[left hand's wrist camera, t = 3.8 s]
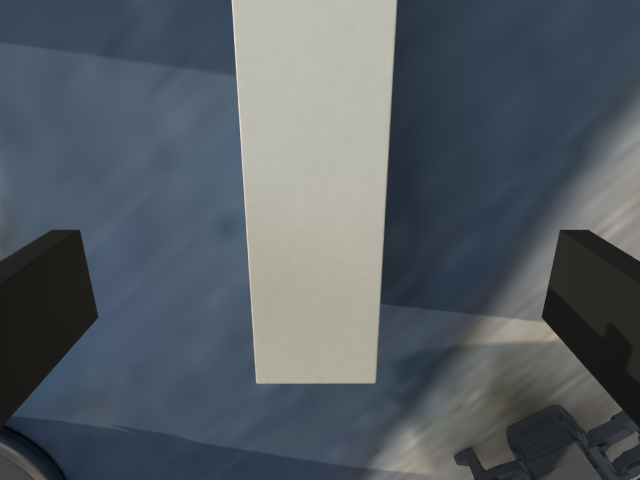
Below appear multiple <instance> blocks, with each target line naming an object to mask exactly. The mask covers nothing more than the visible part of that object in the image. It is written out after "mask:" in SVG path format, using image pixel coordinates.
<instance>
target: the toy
mask: <svg viewBox="0 0 640 480" xmlns="http://www.w3.org/2000/svg"><path fill="white" fill-rule="evenodd" d="M507 428H508V429H507V430H506V434H507V439H508V442H509V446H510V449H511V450H512V452H513V454H514V456H515V457H516V460H514V461H512V462H508V463H505V464H502V465H499V466H496V467H493V468H491V469H488V470H485V469H484V468H483V467H482V465H481V463H480V462H479V460H478V458H477V456H476V454H475V453H474V451H473V450H472V449H469V450H466V451H464V452H462V453H460V454H458V455H456V456H454V458H455V461H456V463H457V465H463V466H470V468H471V471H472V473H473V476H474V479H475V480H630V479H632V478H634V477H636V476H638V475H639V474H640V444H639V445H637V446H636V447H634V448H632V449H630V450H628V451H626V452H623V453H622V455H621V456H619V457H617V458H616V459H615V460H614V461H613V463H612V464H611V462H610V460H609V459H608V457H607V456H606V454H605V451H606V450H607V449H608V448H609V447H610V446H611V445H613V444H615V443H616V442H618V441H620V440H622V439H624V438H626V437H628V436H629V435H631V434H633V433H635V432H636V431H637V432H638V433H639V434H640V428H639V427H638V426H637V425H636V424H635V423H634V422H633V420H632V419H631V418H630V417H629V416H628V415H627V414H626V412H625V411H622V412H620V413H618V414H616V415H614V416H613V417H612V418H611V420H610V421H609V422H607V423H605V424H603V425H600V426H598V427H596V428H594V429H592V430H590V431H589V432H588V434H587V433H586V432H585V431H584V430H583V429H582V428H581V427H579V426H578V424H577V423H576V421H575V420H574V418H573V417H572V416H571V415H570V414H569V413H568V412H567V411H566V410H565V409H563V408H562V407H561V406H560V405H559V406H557V405H552V406H550V407H548V408H546V409H544V410H542V411H540V412H538V413H536V414H533V415H531V416H529V417H527V418H525V419H523V420H521V421H519V422H517V423H515V424H513V425H511V426H508V427H507ZM638 438H639V440H640V436H638ZM637 480H640V478H639V479H637Z"/></svg>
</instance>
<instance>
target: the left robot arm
mask: <svg viewBox="0 0 640 480" xmlns="http://www.w3.org/2000/svg"><path fill="white" fill-rule="evenodd" d="M97 318H98V314H97V309H96V304H95V299H94V295H93V290H92V285H91V280H90V276H89V271H88V266H87V261H86V257H85V252H84V247H83V242H82V238H81V233H80V230H51V231H49V232H48V233H46V234H44V235H43V236H41V237H39V238H38V239H36V240H34V241H33V242H31V243H30V244H28V245H26V246H25V247H23V248H21V249H20V250H18V251H17V252H15V253H13V254H12V255H10V256H8V257H7V258H5V259H3V260H2V261H0V480H64V479H63V477H62V475H61V474H60V472H59V471H58V469H57V468H56V467H55V465H54V464H53V463H52V462H51V461H50V460H49V459H48V458H47V457H46V456H45V455H44V454H43V453H42V452H41V451H40V450H39V449H38V448H36V447H35V446H34V445H32V444H31V443H30V442H28V441H27V440H25V439H24V438H22V437H20V436H19V435H17V434H15V433H13V432H11V431H9V430H7V429H5V428H3V427H2V426H3V425H4V424H5V423H6V422H7V420H8V419H9V418H10V417H11V416H12V415H13V414H14V412H15V411H16V410H17V409H18V408H19V407H20V406H21V405H22V403H23V402H24V401H25V400H26V399H27V398H28V397H29V395H30V394H31V393H32V392H33V391H34V390H35V389H36V387H37V386H38V385H39V384H40V383H41V382H42V381H43V380H44V378H45V377H46V376H47V375H48V374H49V373H50V372H51V370H52V369H53V368H54V367H55V366H56V365H57V364H58V363H59V361H60V360H61V359H62V358H63V357H64V356H65V355H66V353H67V352H68V351H69V350H70V349H71V348H72V347H73V345H74V344H75V343H76V342H77V341H78V340H79V339H80V338H81V336H82V335H83V334H84V333H85V332H86V331H87V330H88V328H89V327H90V326H91V325H92V324H93V323H94V322H95V321H96V319H97ZM542 318H543V319H544V321H545V322H546V323H547V324H548V325H549V326H550V327H551V328H552V330H553V331H554V332H555V333H556V334H557V335H558V336H559V338H560V339H561V340H562V341H563V342H564V343H565V344H566V345H567V347H568V348H569V349H570V350H571V351H572V352H573V353H574V355H575V356H576V357H577V358H578V359H579V360H580V361H581V363H582V364H583V365H584V366H585V367H586V368H587V369H588V370H589V372H590V373H591V374H592V375H593V376H594V377H595V378H596V380H597V381H598V382H599V383H600V384H601V385H602V386H603V387H604V389H605V390H606V391H607V392H608V393H609V394H610V395H611V397H612V398H613V399H614V400H615V401H616V402H617V403H618V405H619V406H620V407H621V408H622V409H623V410H624V411H625V412H626V414H627V415H628V416H629V417H630V418H631V419H632V420H633V422H634V423H635V424H636V425H637V426H638V427H639V428H640V261H638V260H637V259H635V258H633V257H632V256H630V255H628V254H627V253H625V252H623V251H622V250H620V249H619V248H617V247H615V246H614V245H612V244H610V243H609V242H607V241H606V240H604V239H602V238H601V237H599V236H597V235H596V234H594V233H592V232H591V231H589V230H560V233H559V238H558V242H557V247H556V252H555V257H554V261H553V266H552V271H551V276H550V280H549V285H548V290H547V295H546V299H545V304H544V309H543V314H542Z"/></svg>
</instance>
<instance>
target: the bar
mask: <svg viewBox="0 0 640 480" xmlns="http://www.w3.org/2000/svg"><path fill="white" fill-rule="evenodd" d="M232 10H233V26H234V42H235V57H236V73H237V88H238V104H239V120H240V135H241V151H242V166H243V182H244V197H245V213H246V229H247V244H248V260H249V275H250V291H251V307H252V322H253V338H254V353H255V369H256V383H257V384H270V383H376V369H377V351H378V333H379V316H380V298H381V280H382V262H383V244H384V227H385V209H386V191H387V173H388V156H389V138H390V120H391V102H392V84H393V67H394V49H395V31H396V13H397V0H232Z"/></svg>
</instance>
